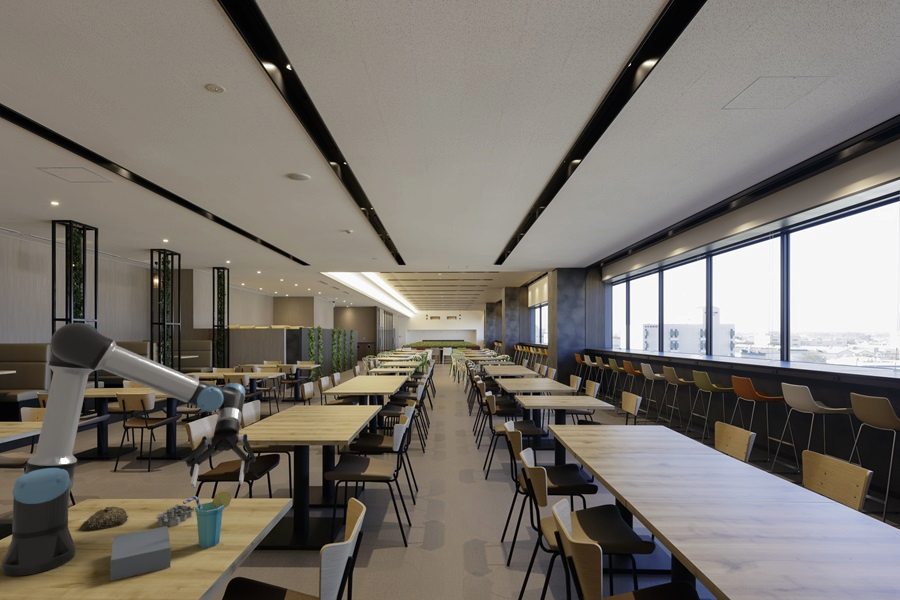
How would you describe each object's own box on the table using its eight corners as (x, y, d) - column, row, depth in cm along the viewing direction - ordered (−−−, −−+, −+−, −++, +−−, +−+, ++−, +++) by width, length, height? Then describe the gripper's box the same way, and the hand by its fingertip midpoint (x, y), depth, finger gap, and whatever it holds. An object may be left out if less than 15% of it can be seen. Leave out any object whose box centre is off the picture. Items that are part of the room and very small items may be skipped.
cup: (191, 558, 136) (191, 501, 136) (174, 551, 140) (175, 497, 140) (236, 538, 148) (236, 487, 148) (219, 533, 152) (220, 483, 152)
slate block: (110, 581, 124) (110, 560, 124) (113, 554, 138) (113, 536, 138) (170, 567, 131) (170, 547, 131) (167, 543, 145) (167, 525, 145)
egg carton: (174, 528, 157) (174, 515, 157) (153, 527, 158) (153, 514, 158) (196, 515, 167) (197, 503, 167) (176, 514, 168) (176, 502, 169)
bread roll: (124, 527, 158) (124, 511, 158) (76, 534, 153) (77, 517, 154) (132, 513, 170) (132, 498, 170) (88, 519, 165) (89, 504, 165)
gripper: (268, 428, 173) (261, 486, 158) (189, 433, 168) (175, 493, 152) (266, 416, 168) (259, 474, 153) (185, 420, 163) (169, 481, 147)
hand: (217, 484), depth 153 cm, fingers open, 13 cm apart
